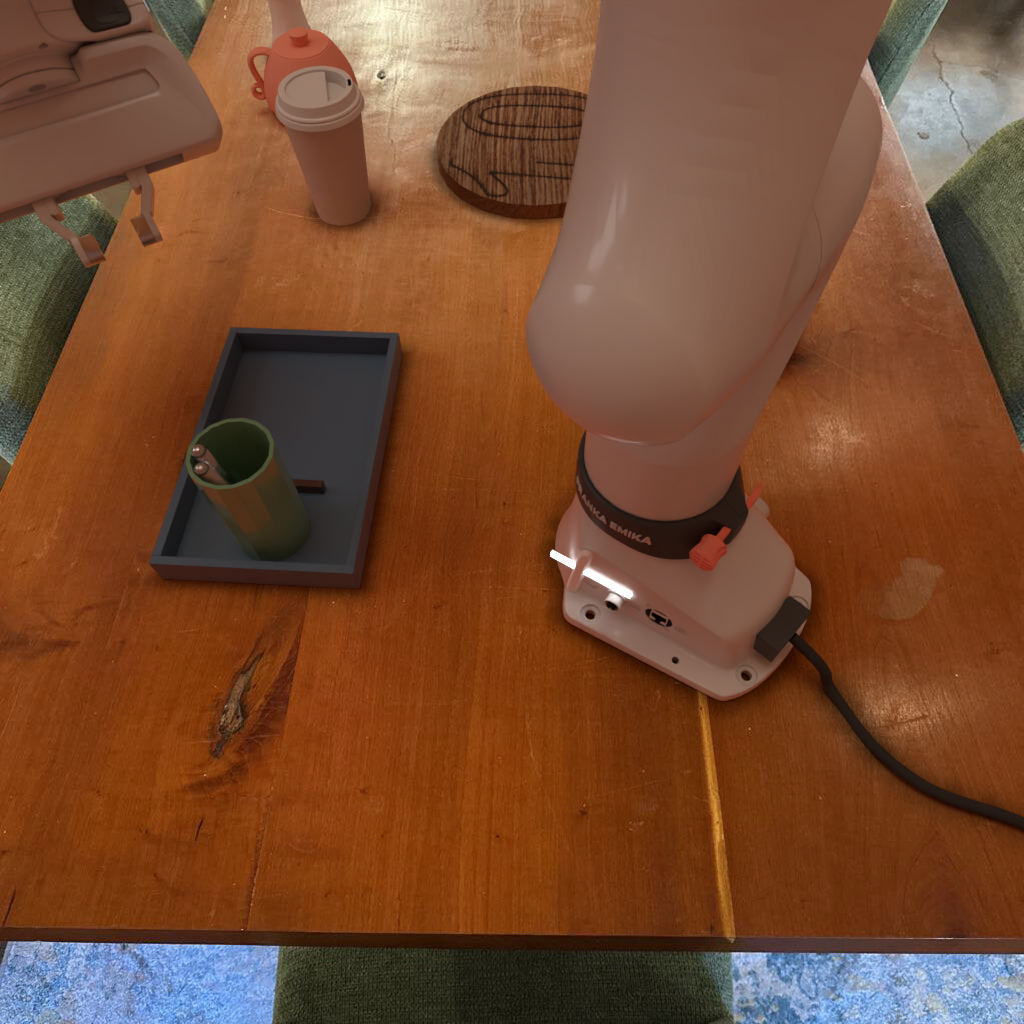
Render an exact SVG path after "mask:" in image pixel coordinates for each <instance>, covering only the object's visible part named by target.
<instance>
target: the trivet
mask: <svg viewBox="0 0 1024 1024" xmlns="http://www.w3.org/2000/svg"><path fill="white" fill-rule="evenodd" d="M587 96H588V93H584V92H582V91H577V90H573V89H569V88H566V87H565V88H564V87H561V86H546V85H525V86H524V85H523V86H512V87H506V88H503V89H499V90H494V91H490V92H487V93H485V94H483V95H480V96H478V97H476V98H473V99H470V100H468V101H467V102H466V103H464V104H462V106H460V107H459V108H457V109H455V110H454V111H453V112H452V113H451V114H450V115H449V117H448V118H447V119H446V120H445V121H444V123H443V124H442V125H441V127H440V130H439V132H438V135H437V139H436V141H435V144H436V151H437V152H436V153H437V160H438V163H437V164H438V171H439V173H440V175H441V177H442V179H443V180H444V183H445V184H446V186H447V187H448V188H449V189H450V190H451V191H452V192H454V193H455V194H456V195H457V196H458V197H459V198H460V199H461V200H462V201H464V202H466V203H468V204H469V205H472V206H474V207H476V208H478V209H479V210H482V211H485V212H488V213H492V214H495V215H499V216H502V217H506V218H517V219H527V220H539V219H551V218H563V216H564V212H565V208H566V203H567V199H568V194H569V189H570V184H571V179H572V174H573V169H574V164H575V159H576V154H577V149H578V143H579V138H580V133H581V128H582V122H583V117H584V112H585V107H586V101H587Z"/></svg>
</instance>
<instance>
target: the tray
mask: <svg viewBox="0 0 1024 1024" xmlns="http://www.w3.org/2000/svg"><path fill="white" fill-rule="evenodd" d="M225 339H226V340H225V342H224V345H223V348H222V352H221V354H220V357H219V359H218V363H217V365H216V368H215V372H214V374H213V376H212V380H211V383H210V386H209V389H208V392H207V394H206V396H205V397H206V398H205V400H204V403H203V405H202V409H201V412H200V414H199V418H198V421H197V423H196V426H195V428H194V432H193V435H192V438H191V441H190V443H189V446H190V445H191V443H192V442H193V440H194V439H195V437H196V436H197V435H198V434H199V433H201V432H202V431H203V430H204V429H206V428H207V427H208V426H210V425H212V424H215V423H217V422H220V421H223V420H225V419H234V418H246V419H249V420H253V421H257V422H259V423H260V424H262V425H263V426H264V427H265V428H267V429H268V430H269V431H270V433H271V435H272V438H273V440H274V442H275V444H276V446H277V448H278V450H279V452H280V455H281V457H282V459H283V461H284V463H285V465H286V467H287V469H288V471H289V474H290V476H291V478H292V479H303V480H323V481H324V484H325V486H326V489H325V493H324V494H316V493H299V495H300V497H301V499H302V501H303V503H304V505H305V507H306V510H307V512H308V514H309V517H310V521H311V528H310V533H309V536H308V538H307V540H306V542H305V543H304V544H303V546H302V547H301V548H300V549H299V550H298V551H297V552H295V553H294V554H292V555H291V556H289V557H287V558H285V559H282V560H279V561H274V562H273V561H256V560H254V559H251V558H249V557H248V556H246V555H245V554H244V553H243V552H242V551H241V549H239V548H238V546H237V545H236V543H235V542H234V540H233V539H232V537H231V536H230V534H229V533H228V531H227V530H226V528H225V527H224V525H223V524H222V523H221V521H220V520H219V518H218V517H217V515H216V514H215V512H214V511H213V509H212V508H211V506H210V505H209V503H208V502H207V500H206V499H205V497H204V496H203V494H202V493H201V491H200V490H199V488H198V487H197V486H196V484H195V483H194V481H193V480H192V478H191V477H190V475H189V472H188V469H187V466H186V464H185V462H186V456H187V454H186V455H185V457H184V461H183V463H182V466H181V469H180V471H179V472H180V473H179V475H178V477H177V481H176V484H175V487H174V489H173V493H172V495H171V498H170V501H169V504H168V507H167V509H166V513H165V516H164V517H163V521H162V524H161V527H160V530H159V533H158V536H157V539H156V542H155V545H154V547H153V550H152V553H151V556H150V559H149V562H148V565H149V566H151V568H152V569H153V570H154V571H155V572H156V573H157V574H158V575H159V576H160V578H161V579H163V580H176V581H177V580H178V581H195V582H196V581H198V582H214V583H215V582H218V583H237V584H238V583H239V584H254V585H255V584H257V585H273V586H275V585H276V586H295V587H315V588H332V589H333V588H334V589H335V588H337V589H353V590H354V589H355V590H356V589H357V590H359V589H360V588H361V584H362V577H363V573H364V567H365V562H366V556H367V552H368V551H367V550H368V546H369V545H368V544H369V540H370V534H371V530H372V529H371V528H372V524H373V518H374V513H375V507H376V500H377V495H378V492H379V491H378V490H379V485H380V479H381V473H382V468H383V463H384V459H385V452H386V447H387V442H388V435H389V430H390V424H391V420H392V414H393V408H394V403H395V398H396V392H397V386H398V381H399V375H400V369H401V365H402V358H403V353H404V352H403V348H402V343H401V342H402V341H401V338H400V333H399V332H382V331H357V330H356V331H353V330H328V329H296V328H272V327H271V328H269V327H268V328H267V327H241V326H240V327H239V326H230V328H229V330H228V334H227V337H226V338H225Z"/></svg>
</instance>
